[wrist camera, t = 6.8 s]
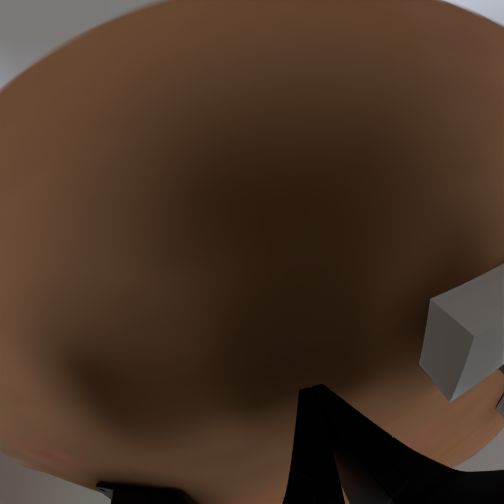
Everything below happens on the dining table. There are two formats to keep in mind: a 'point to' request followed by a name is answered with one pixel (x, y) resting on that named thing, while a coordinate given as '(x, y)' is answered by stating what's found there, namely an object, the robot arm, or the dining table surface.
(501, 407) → the coffee box
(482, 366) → the slat
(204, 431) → the dining table surface
